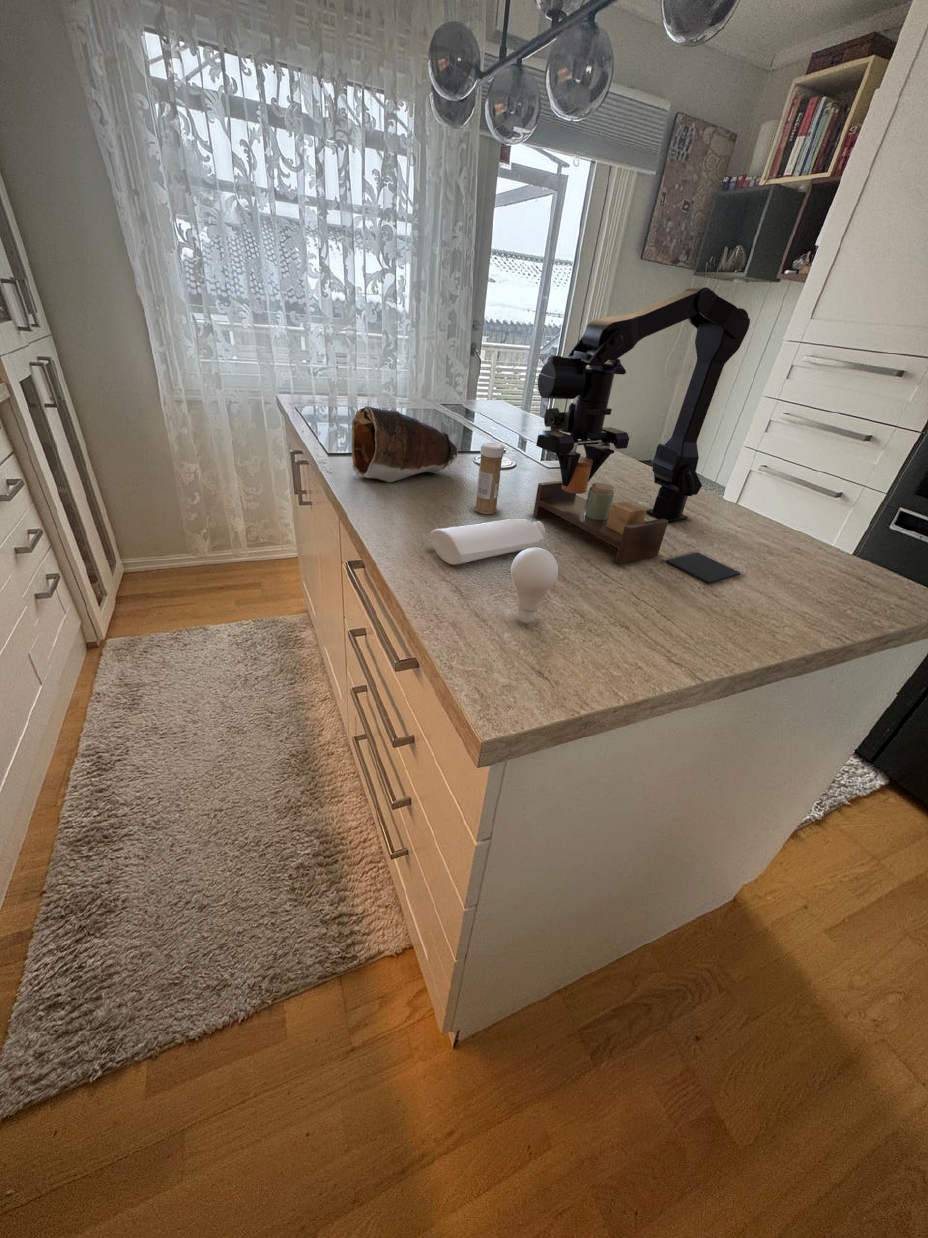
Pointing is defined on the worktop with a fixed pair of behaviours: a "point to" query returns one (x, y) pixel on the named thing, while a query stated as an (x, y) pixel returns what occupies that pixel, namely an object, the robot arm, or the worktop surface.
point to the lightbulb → (532, 580)
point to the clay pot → (397, 446)
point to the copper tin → (580, 477)
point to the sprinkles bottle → (489, 477)
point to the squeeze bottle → (486, 539)
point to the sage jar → (599, 501)
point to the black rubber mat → (703, 568)
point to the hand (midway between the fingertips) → (574, 484)
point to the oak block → (625, 515)
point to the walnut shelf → (601, 524)
